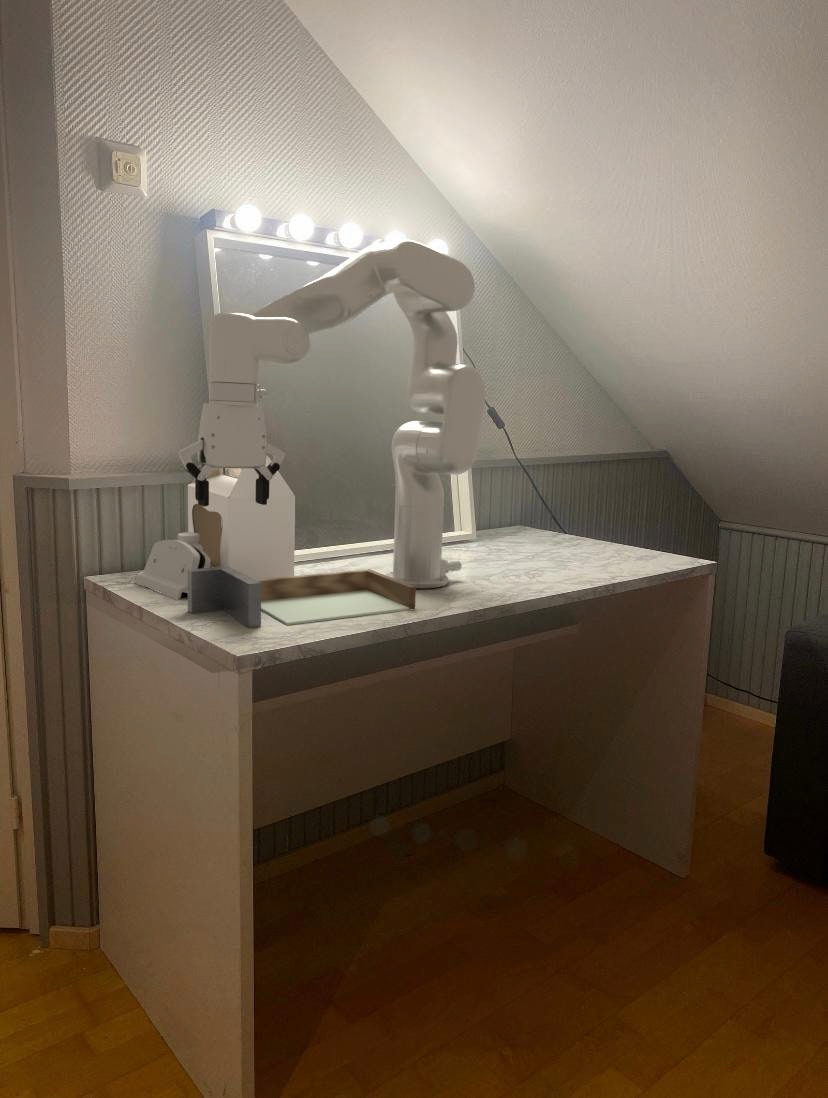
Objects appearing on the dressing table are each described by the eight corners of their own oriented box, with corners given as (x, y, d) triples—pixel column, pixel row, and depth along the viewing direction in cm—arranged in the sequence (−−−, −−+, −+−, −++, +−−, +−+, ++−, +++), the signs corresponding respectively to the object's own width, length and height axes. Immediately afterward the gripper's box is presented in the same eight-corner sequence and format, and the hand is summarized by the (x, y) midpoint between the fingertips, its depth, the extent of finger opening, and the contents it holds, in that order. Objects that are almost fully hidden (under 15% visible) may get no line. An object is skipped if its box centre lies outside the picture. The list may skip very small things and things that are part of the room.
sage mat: (366, 592, 156) (366, 589, 156) (409, 610, 144) (409, 607, 144) (251, 604, 144) (251, 602, 144) (287, 625, 132) (287, 622, 132)
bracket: (228, 606, 142) (228, 566, 141) (260, 626, 131) (261, 582, 129) (187, 611, 138) (187, 569, 137) (217, 632, 127) (217, 586, 126)
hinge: (133, 582, 157) (149, 531, 158) (155, 588, 160) (170, 538, 161) (178, 600, 145) (195, 544, 146) (201, 605, 149) (217, 551, 149)
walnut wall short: (372, 591, 157) (372, 570, 156) (415, 609, 145) (415, 586, 144) (366, 592, 156) (367, 571, 156) (409, 610, 144) (410, 587, 144)
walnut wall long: (368, 590, 158) (369, 569, 157) (372, 591, 157) (372, 570, 156) (248, 602, 145) (248, 580, 144) (251, 604, 144) (251, 581, 143)
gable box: (187, 570, 170) (186, 431, 165) (248, 564, 178) (249, 431, 173) (229, 592, 152) (228, 437, 147) (295, 586, 159) (296, 438, 155)
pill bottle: (191, 575, 165) (190, 530, 164) (209, 579, 162) (208, 534, 161) (169, 579, 161) (168, 533, 160) (187, 583, 158) (186, 537, 157)
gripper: (275, 397, 139) (273, 500, 141) (171, 392, 129) (171, 503, 132) (294, 398, 132) (292, 506, 135) (187, 393, 123) (186, 509, 126)
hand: (232, 504), depth 134 cm, fingers open, 9 cm apart
